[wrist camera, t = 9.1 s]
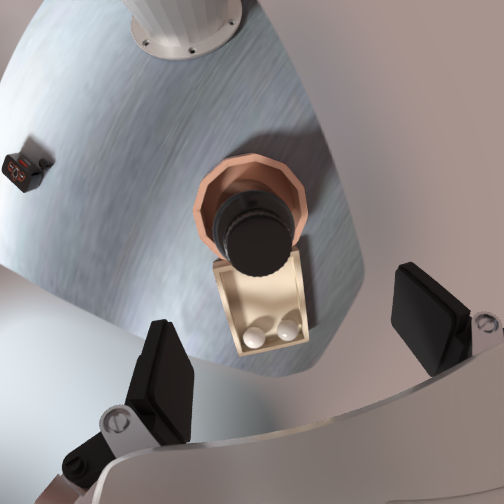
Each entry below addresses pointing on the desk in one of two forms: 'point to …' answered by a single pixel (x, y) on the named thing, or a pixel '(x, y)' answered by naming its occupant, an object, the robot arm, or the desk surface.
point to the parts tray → (263, 302)
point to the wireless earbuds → (24, 171)
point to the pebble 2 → (287, 330)
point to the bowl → (241, 169)
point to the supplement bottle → (253, 228)
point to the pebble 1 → (254, 337)
